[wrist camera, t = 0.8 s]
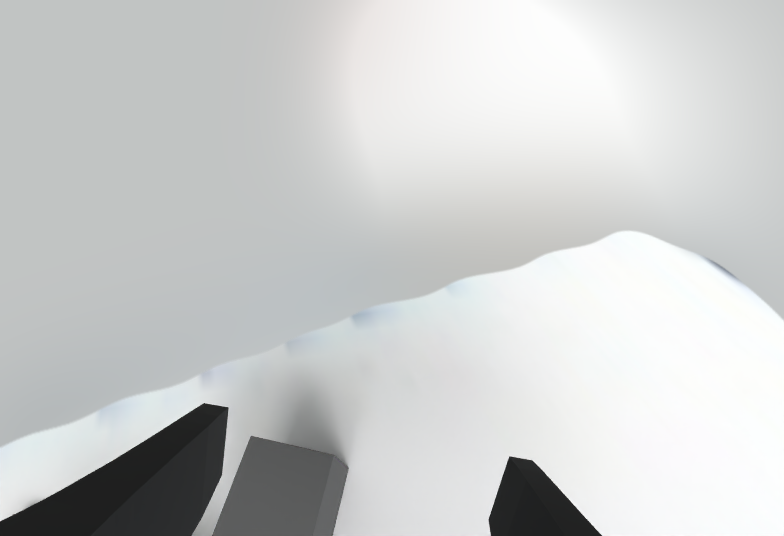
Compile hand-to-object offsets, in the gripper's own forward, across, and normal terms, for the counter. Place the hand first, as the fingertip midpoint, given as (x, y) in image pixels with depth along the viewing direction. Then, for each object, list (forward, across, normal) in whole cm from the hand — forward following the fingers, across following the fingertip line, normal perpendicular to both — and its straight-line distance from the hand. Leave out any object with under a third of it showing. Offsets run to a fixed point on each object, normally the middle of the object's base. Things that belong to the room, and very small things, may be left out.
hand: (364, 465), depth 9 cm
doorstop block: (+10, +2, +13) cm, 16 cm away
